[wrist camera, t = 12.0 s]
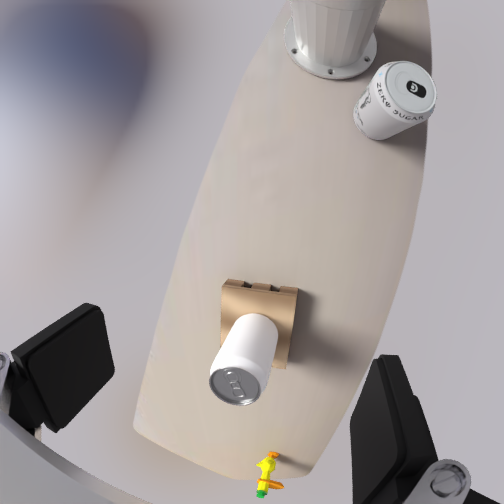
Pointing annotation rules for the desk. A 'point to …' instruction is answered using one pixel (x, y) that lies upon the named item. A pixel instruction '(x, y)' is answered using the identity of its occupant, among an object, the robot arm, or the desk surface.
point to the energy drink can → (395, 100)
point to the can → (244, 360)
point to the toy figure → (267, 475)
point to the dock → (260, 311)
